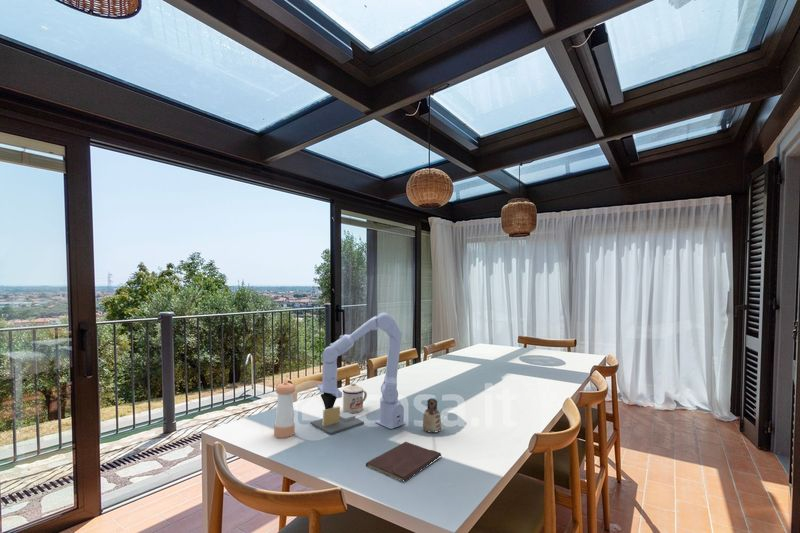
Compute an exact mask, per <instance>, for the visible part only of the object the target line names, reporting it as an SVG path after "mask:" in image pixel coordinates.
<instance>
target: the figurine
mask: <svg viewBox="0 0 800 533" xmlns="http://www.w3.org/2000/svg"><path fill="white" fill-rule="evenodd" d="M426 402H427V403H426V406H427V409H426V410H425V411H424V413H423V418H422V419H423V420H422V430H423V429H424V430H425V431H424V430H423V431H424V432H426V431H430V432H435V431H439V430H441V431H442V422H441V420H442V419H441V413H440V411H439V410H438V400H437V399H436V398H435V397H430V398H428V399H427V401H426Z"/></svg>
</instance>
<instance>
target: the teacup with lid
mask: <svg viewBox="0 0 800 533" xmlns="http://www.w3.org/2000/svg"><path fill="white" fill-rule="evenodd" d="M367 396H368V393H367V391H366V390H364V388H363V387H362V386H359V385H356V383H355V382H351V383H350V385H348V386H346V387H344V388H343V389H342V410H343V411H344V412H348V413H350V414H354V413H355V414H356V413H360V412H362V411H363V408H364V403H363V402H365V401H366V399H367Z"/></svg>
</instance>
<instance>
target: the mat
mask: <svg viewBox="0 0 800 533" xmlns="http://www.w3.org/2000/svg"><path fill="white" fill-rule="evenodd" d="M341 413H342V412H341ZM341 413H340V414H341ZM322 423H323V418H320V419H316V420H313V421H310V422H309V424H310V425H311V424H312V425H311V426H312V427H315V428H316V427H317V429H318V430H320V431H322V432H324V433H326V434H328V435H330V436H331V435H333V434H336V433H340V432H343V431H346V430H349V429H352V428H355V427H359V426H361V425H364V424H365V421H362V420H361V419H358V418H357V417H355V419H353V420H349V421H346V422H345V421H343V420H341V419H339V422H338V423H334V424H331V425H328V426H322Z"/></svg>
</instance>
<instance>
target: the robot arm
mask: <svg viewBox="0 0 800 533" xmlns="http://www.w3.org/2000/svg"><path fill="white" fill-rule="evenodd" d="M379 329H380V330H381V331H384V332H385V333H386V334H387V336H389V338H388V340H389V341H388V350H387V357H386V366H385V375H384V379H383V381H382V382H383V383H382V384H381V386H380V392H381V397H380V400H379V402H380V403H379V409H380V410H379V419H378V420H375V423H376V424H378V425H380V426H383V427H385V428H387V429H394V428H395V429H396V428H397V427H400V426H403V425H406V422H405V421H404V418H405V416H404V415H405V409H404V406H403V405H402V404H401V403H400V402H399V392H398V389H397V387H398V379H397V378H398V370H399V362H400V352H401V344H402V331H401V330H400V328H399V326H398V323H397V321H396V320H395V319H394V318H393V317H392V316H391V315H390V314H389V313H387V312H384V311H383V312H380V313H378V314H377V315H374V316H373V317H371V318H369V319H368V320H367V321H365V323H363V324H362V325H360V326H359V327H358V328H357V329H355V330H354V331H353V332H352V333H351V334H346V333H345V334H341V335H339V338H338V339H337V340H336V341H334V342H331V343H330V344H329V346H327V347H325V348H324V350H323V352H322V354H321V355H322V359H323V361H322V370H321V371H322V380H321V381H322V382H321V384H317V391H319V392H320V393H321V394H320V397H321V400H322V402H323V405H324V410H325V409H329V408H333V407H335V406H334V405H335V403H336V400H337V399H340V398H343V391H341V390H340V389H339V388H338V365H337V362H338V357H339V356H342V355H344V354H345V353H346V352H348V351H349V350H350V349H351V348H353V347H354V344H355V341H357V340H358V339H360V338H361V337H363V336H365V334H367V333H368V332H371V331H378V330H379Z"/></svg>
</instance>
